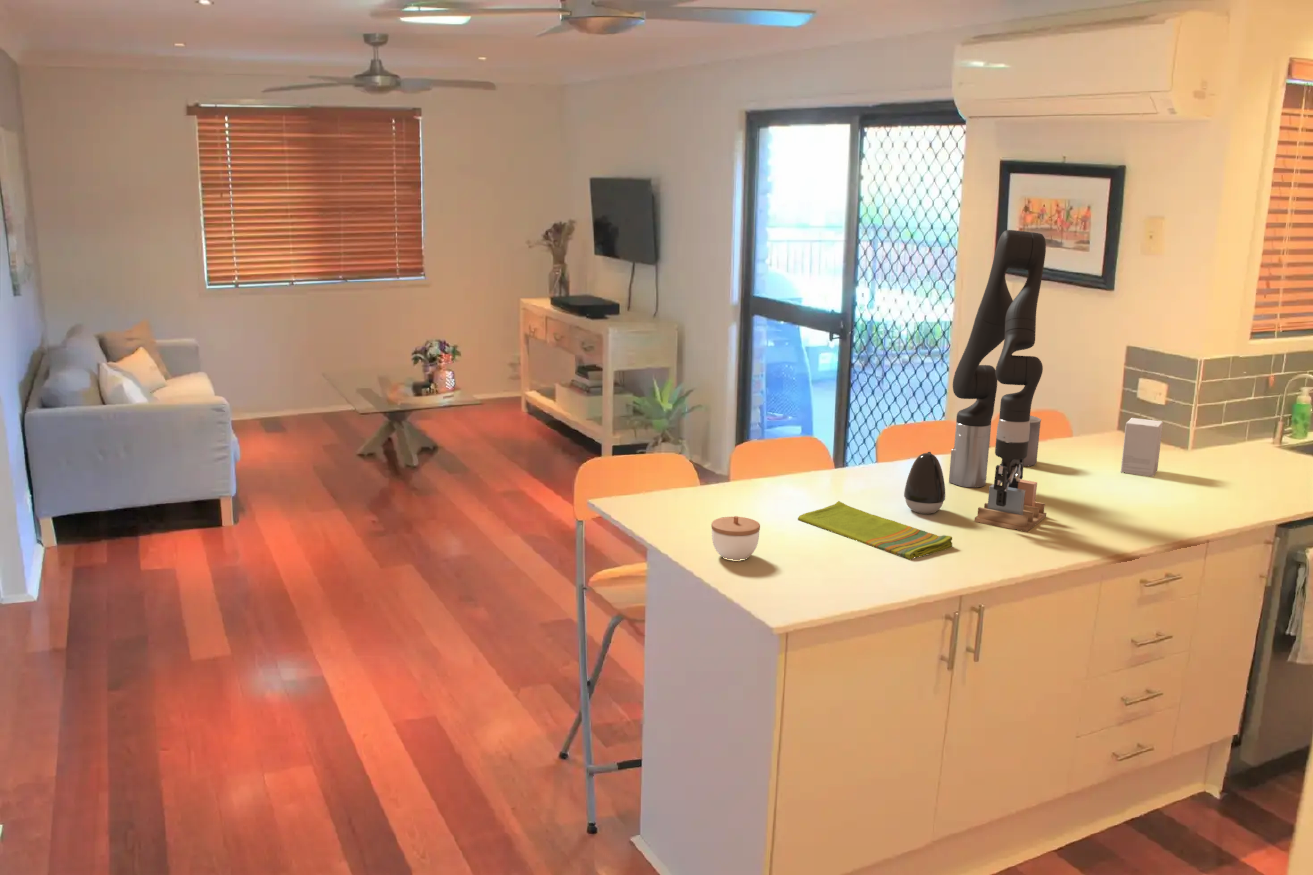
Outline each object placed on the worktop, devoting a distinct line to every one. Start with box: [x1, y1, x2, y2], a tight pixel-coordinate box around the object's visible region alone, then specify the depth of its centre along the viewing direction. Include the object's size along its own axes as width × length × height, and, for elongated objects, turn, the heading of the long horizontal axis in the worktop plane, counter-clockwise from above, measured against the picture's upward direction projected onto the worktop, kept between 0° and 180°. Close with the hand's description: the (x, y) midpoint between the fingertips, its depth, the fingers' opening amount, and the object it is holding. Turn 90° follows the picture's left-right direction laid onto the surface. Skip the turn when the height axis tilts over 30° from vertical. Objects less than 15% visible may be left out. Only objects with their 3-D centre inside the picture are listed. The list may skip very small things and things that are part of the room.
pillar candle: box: [1024, 415, 1042, 467], centre depth 325 cm, size 10×10×15 cm
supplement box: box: [1120, 417, 1164, 478], centre depth 317 cm, size 9×9×15 cm
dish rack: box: [974, 501, 1047, 533], centre depth 272 cm, size 13×15×4 cm
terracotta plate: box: [1018, 478, 1038, 507], centre depth 275 cm, size 8×2×8 cm, turn 54°
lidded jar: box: [710, 515, 761, 560], centre depth 242 cm, size 11×11×9 cm
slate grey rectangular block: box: [987, 483, 1025, 515], centre depth 268 cm, size 8×2×8 cm, turn 54°
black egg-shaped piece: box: [903, 451, 946, 515], centre depth 276 cm, size 10×10×15 cm
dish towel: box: [797, 500, 953, 560], centre depth 260 cm, size 15×36×3 cm, turn 38°
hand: (1006, 501), depth 268 cm, fingers open, 8 cm apart
